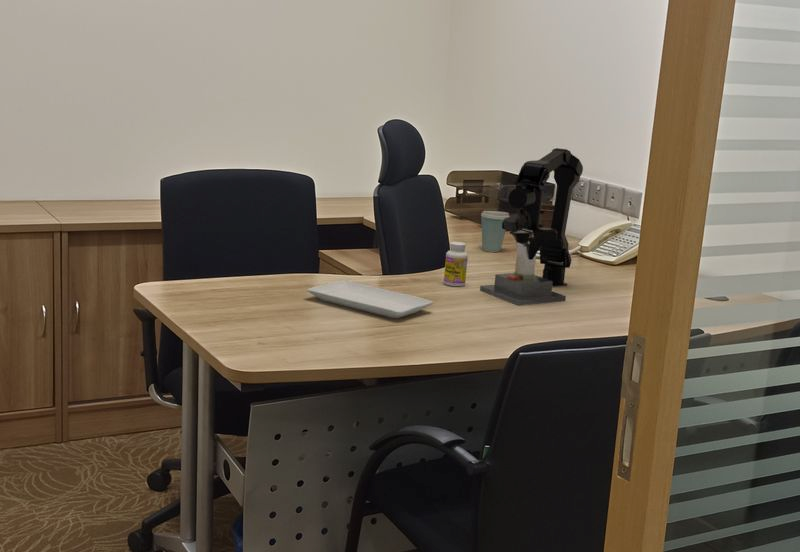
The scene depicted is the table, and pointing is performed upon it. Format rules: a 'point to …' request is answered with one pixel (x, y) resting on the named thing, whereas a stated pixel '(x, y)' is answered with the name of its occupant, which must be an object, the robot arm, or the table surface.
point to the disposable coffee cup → (492, 230)
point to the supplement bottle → (456, 265)
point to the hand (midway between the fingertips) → (526, 258)
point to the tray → (370, 298)
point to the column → (524, 262)
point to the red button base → (522, 290)
